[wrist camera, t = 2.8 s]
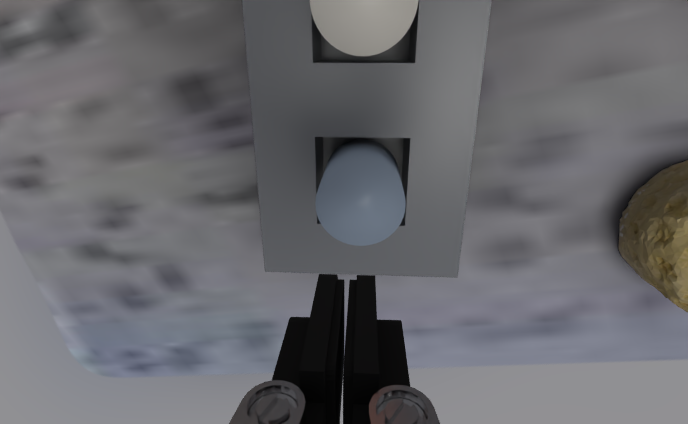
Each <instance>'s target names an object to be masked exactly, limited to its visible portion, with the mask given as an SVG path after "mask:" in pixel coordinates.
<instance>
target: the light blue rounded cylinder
mask: <svg viewBox="0 0 688 424" xmlns="http://www.w3.org/2000/svg"><path fill="white" fill-rule="evenodd" d="M315 206H316V213H317V216H318V219H319V221H320V223H321V225H322V226H323V228H324V229H325V230H326V231H327V232H328V233H329V234H330V235H331V236H332V237H334V238H335V239H337V240H339V241H341V242H343V243H346V244H350V245H355V246H366V245H372V244H376V243H378V242H381V241H383V240H385V239H386V238H388V237H389V236H390V235H392V234H393V233H394V232H395V231H396V229H397V228H398V227H399V225H400V224H401V222H402V219H403V217H404V213H405V207H406V201H405V195H404V190H403V186H402V182H401V177H400V173H399V169H398V165H397V162H396V160H395V158H394V156H393V154H392V153H391V152H390V151H389V150H388V149H387V148H386V147H385V146H383V145H382V144H380V143H378V142H376V141H373V140H369V139H356V140H351V141H348V142H346V143H344V144H342V145H341V146H339V147H338V148H337V149H336V150H335V151H334V152H333V154H332V155H331V156H330V158H329V160H328V163H327V166H326V168H325V171H324V174H323V177H322V180H321V182H320V185H319V188H318V191H317V194H316V202H315Z"/></svg>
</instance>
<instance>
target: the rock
mask: <svg viewBox="0 0 688 424" xmlns="http://www.w3.org/2000/svg"><path fill="white" fill-rule="evenodd" d="M619 221H620V224H619V229H620V230H619V247H618V249H619V251H620V254H621V256H622V257H623V258H624V259H625V260H626V262H627V263H628V264H629V265H630V266H631V267H632V268H633V269H634V270H635V271H636V273H637V274H638V275H640V277H641V278H643V279H644V280H645V281H646V282H647V283H649V284H650V285H652V286H654V287H655V288H656V289H657V290H659V291H660V292H661V293H662V294H663V295H664V296H665V297H666V298H668V299H669V300H670V301H672V302H673V303H674V304H676V305H677V306H678V307H680V308H682V309H683V310H685V311H686V312H688V160H686V161H685V162H681V163H678V164H674V165H672V166H670V167H668V168H666V169H663V170H662V171H660V172H659V173H658V174H656V175H655V176H654V177H653V178H651V179H650V180H649V181H648V182H647V183H646V184H645V185H643V186H642V187H640V188H639V189H638V190H637V191H636V193H635V194H634V195H633V197H632V199H631V200H630V201H629V203H628V207H627V208H626V209H625V210H624V211H623V212H622V218H621V219H620V220H619Z"/></svg>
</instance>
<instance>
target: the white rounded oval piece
mask: <svg viewBox="0 0 688 424" xmlns="http://www.w3.org/2000/svg"><path fill="white" fill-rule="evenodd" d="M417 7H418V0H310V8H311V12H312V16H313V19H314V22H315V24H316V26H317V28H318V30H319V31H320V33H321V34H322V36H323V37H324V38H325V39H326V40H327V41H328V42H329V43H330V44H331V45H332V46H334V47H335V48H336V49H338V50H340V51H342V52H344V53H347V54H350V55H354V56H371V55H376V54H379V53H382V52H384V51H386V50H388V49H390V48H391V47H392V46H394V45H395V44H396V43H397V42H399V41H400V40H401V39H402V37H403V36H404V35H405V34H406V32H407V31H408V29H409V28H410V26H411V24H412V22H413V20H414V17H415V14H416V11H417Z"/></svg>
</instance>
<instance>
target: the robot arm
mask: <svg viewBox="0 0 688 424" xmlns="http://www.w3.org/2000/svg"><path fill="white" fill-rule="evenodd" d="M343 367H344V373H343ZM343 376H344V377H343ZM342 381H343V424H440V423H439V420H438V417H437V414H436V412H435V409H434V407H433V405H432V403H431V401H430V400H429V399H428V398H427V397H426V396H425V395H424V394H423V393H422V392H420V391H418V390H416V389H415V388H412V387H410V382H409V374H408V366H407V359H406V351H405V344H404V336H403V329H402V322H401V320H377V312H376V287H375V276H369V275H357V280H350V284H349V298H348V313H347V327H346V341H345V356H344V280H339V279H338V277H337V275H332V274H319V277H318V282H317V286H316V291H315V296H314V301H313V306H312V310H311V315H310V318H309V317H291V318H290V319H289V322H288V326H287V329H286V333H285V336H284V340H283V343H282V347H281V350H280V354H279V357H278V361H277V364H276V368H275V371H274V375H273V378H272V381H268V382H264V383H262V384H259V385H257V386H255V387H254V388H252V389H251V390H250V391H249V392H248V393H247V394H246V395H245V396H244V398H243V399H242V401H241V403H240V405H239V407H238V408H237V410H236V412H235V414H234V416H233V417H232V419H231V421H230V423H229V424H340V410H341V395H342Z"/></svg>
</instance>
